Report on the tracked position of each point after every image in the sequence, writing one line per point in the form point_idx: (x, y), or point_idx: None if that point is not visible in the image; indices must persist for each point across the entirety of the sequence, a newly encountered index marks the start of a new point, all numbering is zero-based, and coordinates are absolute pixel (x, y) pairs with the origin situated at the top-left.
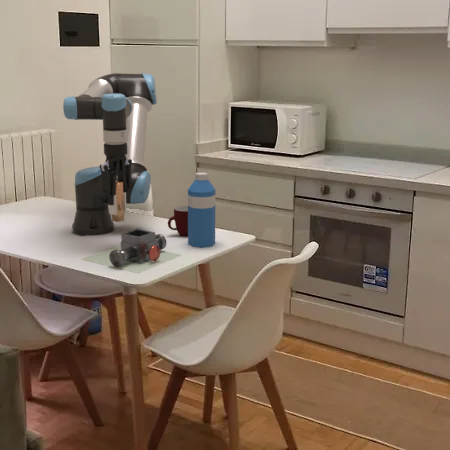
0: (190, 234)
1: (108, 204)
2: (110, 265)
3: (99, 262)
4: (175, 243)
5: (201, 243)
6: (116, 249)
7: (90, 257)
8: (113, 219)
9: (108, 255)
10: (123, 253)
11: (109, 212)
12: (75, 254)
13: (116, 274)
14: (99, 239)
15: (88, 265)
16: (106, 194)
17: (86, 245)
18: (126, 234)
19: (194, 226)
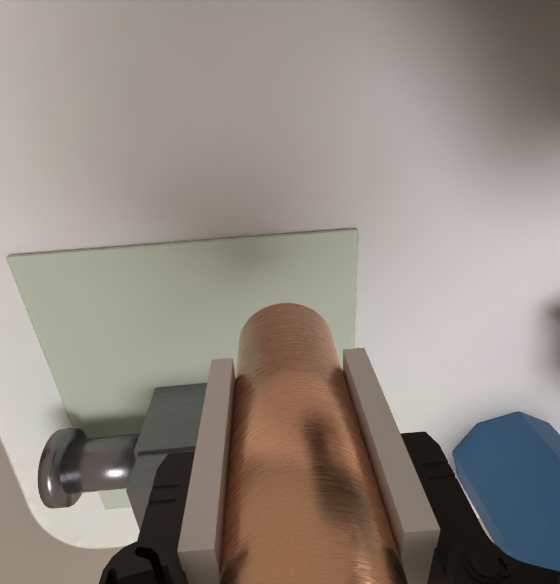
0: (490, 482)
1: (166, 456)
2: (75, 405)
3: (58, 353)
4: (476, 380)
5: (466, 492)
6: (242, 274)
7: (63, 273)
8: (238, 348)
9: (150, 312)
10: (89, 491)
11: (210, 368)
12: (37, 152)
13: None
14: (341, 16)
15: (7, 332)
16: (129, 562)
17: (193, 56)
18: (142, 508)
19: (502, 541)
